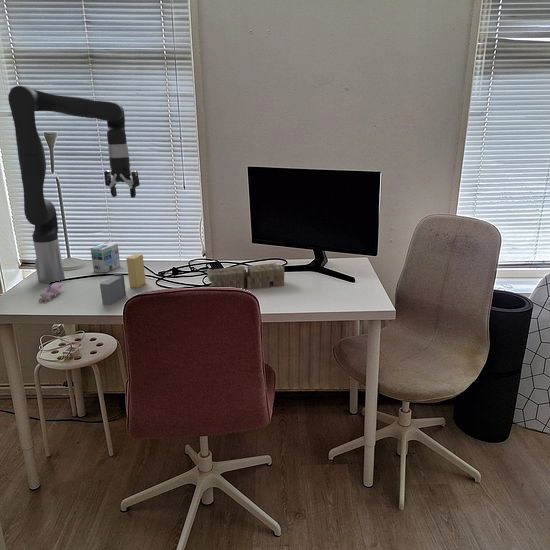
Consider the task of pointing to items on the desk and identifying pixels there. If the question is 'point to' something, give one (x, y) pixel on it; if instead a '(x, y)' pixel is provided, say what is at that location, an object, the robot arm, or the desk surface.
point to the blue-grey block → (113, 289)
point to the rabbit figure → (51, 292)
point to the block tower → (248, 276)
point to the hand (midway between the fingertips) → (123, 197)
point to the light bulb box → (105, 257)
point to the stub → (136, 270)
